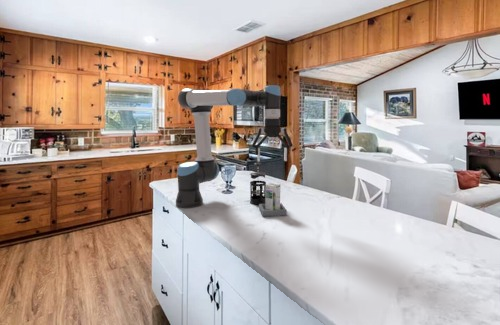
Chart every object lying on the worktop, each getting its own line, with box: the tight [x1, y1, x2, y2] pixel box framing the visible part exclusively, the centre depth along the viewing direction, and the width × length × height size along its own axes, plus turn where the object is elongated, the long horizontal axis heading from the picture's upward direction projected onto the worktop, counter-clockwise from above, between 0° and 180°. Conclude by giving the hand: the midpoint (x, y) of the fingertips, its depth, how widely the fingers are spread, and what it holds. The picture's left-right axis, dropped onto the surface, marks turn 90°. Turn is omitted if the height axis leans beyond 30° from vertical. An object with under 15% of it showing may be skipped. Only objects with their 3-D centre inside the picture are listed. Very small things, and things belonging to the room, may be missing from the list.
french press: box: [249, 162, 267, 206], centre depth 163 cm, size 12×9×23 cm
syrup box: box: [265, 182, 281, 210], centre depth 146 cm, size 6×6×14 cm
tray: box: [258, 202, 288, 218], centre depth 147 cm, size 12×12×3 cm
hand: (272, 161), depth 143 cm, fingers open, 13 cm apart
